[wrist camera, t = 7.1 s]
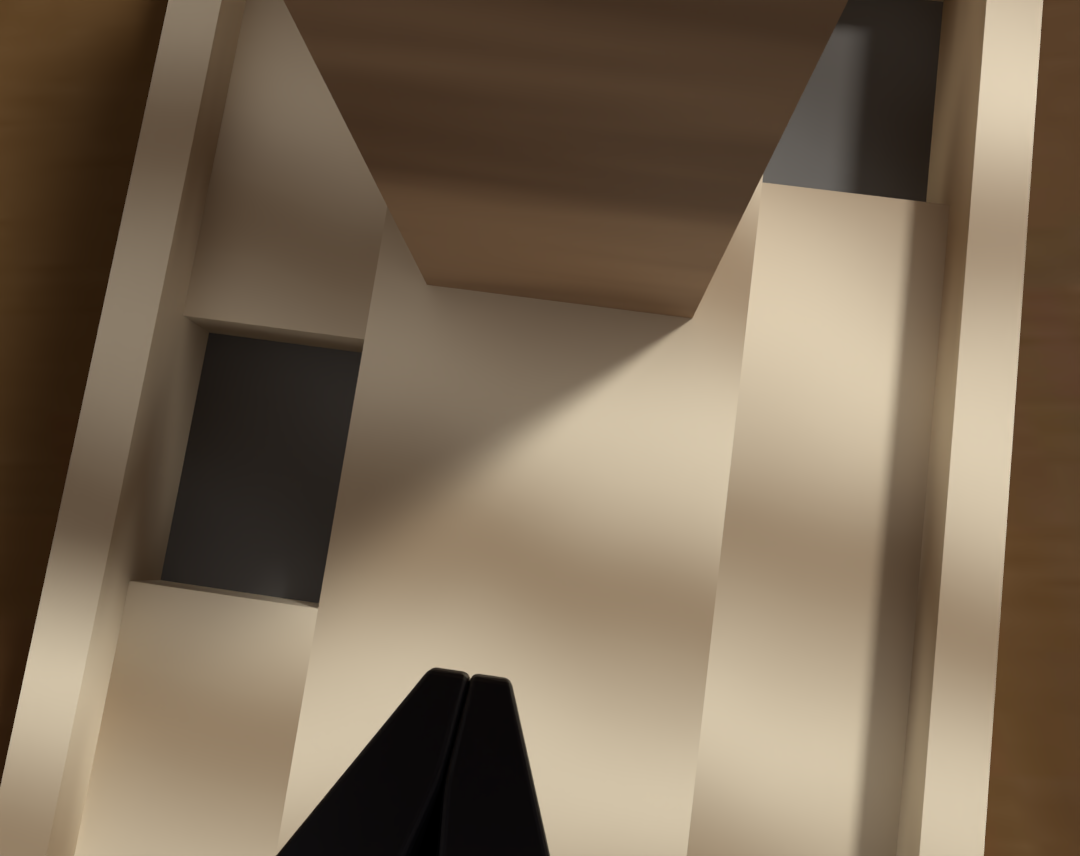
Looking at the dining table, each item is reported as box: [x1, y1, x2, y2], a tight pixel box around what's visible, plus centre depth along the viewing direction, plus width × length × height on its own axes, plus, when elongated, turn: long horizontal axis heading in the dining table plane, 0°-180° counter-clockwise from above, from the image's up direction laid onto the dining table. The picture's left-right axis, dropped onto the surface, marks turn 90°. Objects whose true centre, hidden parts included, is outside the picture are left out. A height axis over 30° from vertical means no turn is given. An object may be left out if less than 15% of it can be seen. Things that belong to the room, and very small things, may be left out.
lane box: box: [0, 0, 1043, 856], centre depth 17 cm, size 27×16×4 cm, turn 172°
